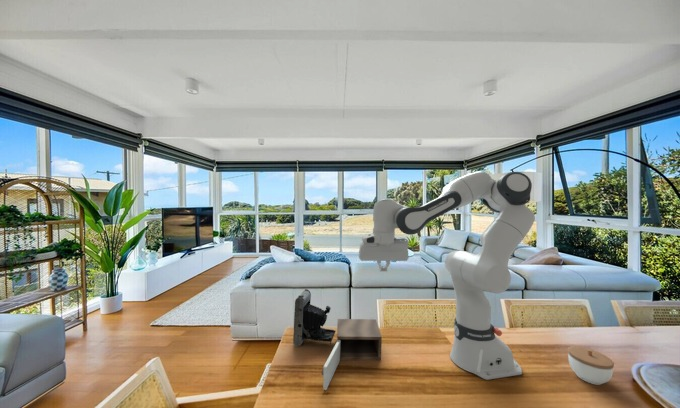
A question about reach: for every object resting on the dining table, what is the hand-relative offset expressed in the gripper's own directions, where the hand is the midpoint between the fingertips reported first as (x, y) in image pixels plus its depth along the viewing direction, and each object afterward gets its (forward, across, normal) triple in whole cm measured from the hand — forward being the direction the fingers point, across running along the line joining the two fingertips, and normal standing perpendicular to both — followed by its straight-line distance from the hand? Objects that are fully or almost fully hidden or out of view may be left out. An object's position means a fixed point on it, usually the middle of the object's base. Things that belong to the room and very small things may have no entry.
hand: (383, 271), depth 102 cm
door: (+28, +21, +20) cm, 41 cm away
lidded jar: (+30, -65, +22) cm, 75 cm away
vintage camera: (+29, +28, +2) cm, 40 cm away
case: (+29, +11, +7) cm, 31 cm away
